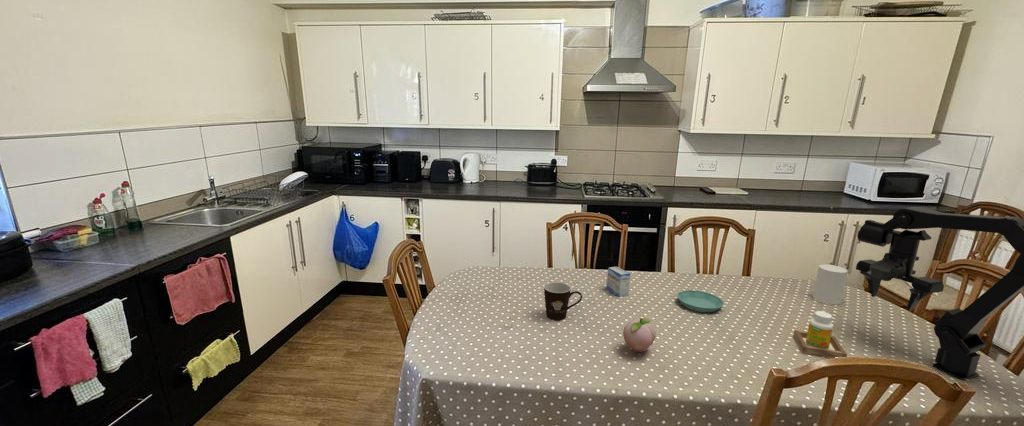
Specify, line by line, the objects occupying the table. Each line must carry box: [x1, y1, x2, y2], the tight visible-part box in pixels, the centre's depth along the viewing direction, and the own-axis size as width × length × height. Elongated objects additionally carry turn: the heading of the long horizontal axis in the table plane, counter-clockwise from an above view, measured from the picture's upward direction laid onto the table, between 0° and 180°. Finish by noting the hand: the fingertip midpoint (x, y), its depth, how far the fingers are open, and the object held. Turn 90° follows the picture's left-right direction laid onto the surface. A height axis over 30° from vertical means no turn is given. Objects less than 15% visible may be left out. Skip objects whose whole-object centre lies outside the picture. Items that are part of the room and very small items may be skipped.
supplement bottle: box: [806, 310, 834, 349], centre depth 119 cm, size 5×5×10 cm
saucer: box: [676, 289, 725, 313], centre depth 146 cm, size 15×15×3 cm
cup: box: [812, 263, 848, 306], centre depth 151 cm, size 8×8×12 cm
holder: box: [792, 329, 848, 359], centre depth 120 cm, size 10×10×2 cm
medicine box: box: [605, 266, 631, 298], centre depth 155 cm, size 8×4×9 cm, turn 25°
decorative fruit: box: [622, 317, 657, 353], centre depth 116 cm, size 9×8×10 cm
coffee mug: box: [543, 281, 583, 322], centre depth 135 cm, size 12×9×10 cm
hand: (890, 303), depth 122 cm, fingers open, 9 cm apart
